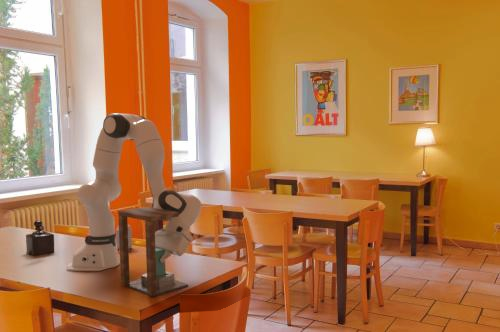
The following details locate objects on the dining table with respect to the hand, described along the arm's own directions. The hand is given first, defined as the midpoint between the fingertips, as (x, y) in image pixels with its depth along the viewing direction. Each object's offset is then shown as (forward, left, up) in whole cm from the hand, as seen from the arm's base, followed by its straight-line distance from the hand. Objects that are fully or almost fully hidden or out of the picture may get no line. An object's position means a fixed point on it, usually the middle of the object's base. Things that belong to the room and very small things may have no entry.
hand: (156, 260), depth 189 cm
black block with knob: (-62, +60, -10) cm, 87 cm away
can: (-22, +63, -10) cm, 68 cm away
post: (0, 0, -6) cm, 6 cm away
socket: (0, 0, -10) cm, 10 cm away
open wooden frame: (-2, -2, -9) cm, 10 cm away
